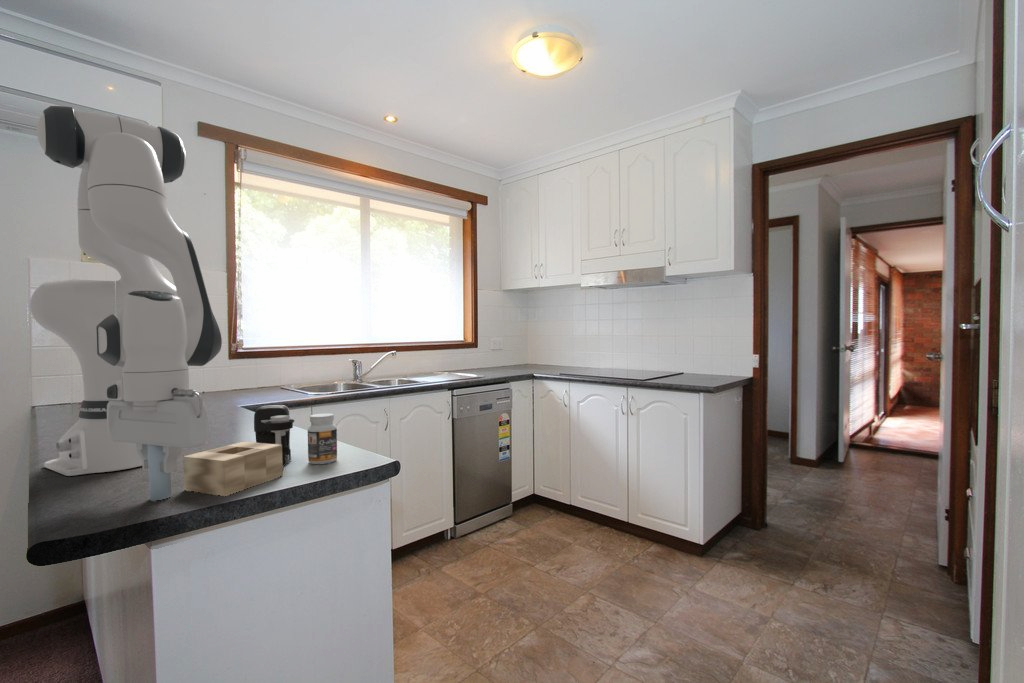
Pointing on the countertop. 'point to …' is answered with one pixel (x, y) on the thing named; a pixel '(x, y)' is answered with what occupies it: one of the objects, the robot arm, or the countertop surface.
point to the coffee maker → (261, 428)
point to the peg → (157, 474)
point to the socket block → (232, 468)
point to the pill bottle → (322, 439)
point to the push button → (281, 433)
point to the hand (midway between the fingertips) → (159, 470)
